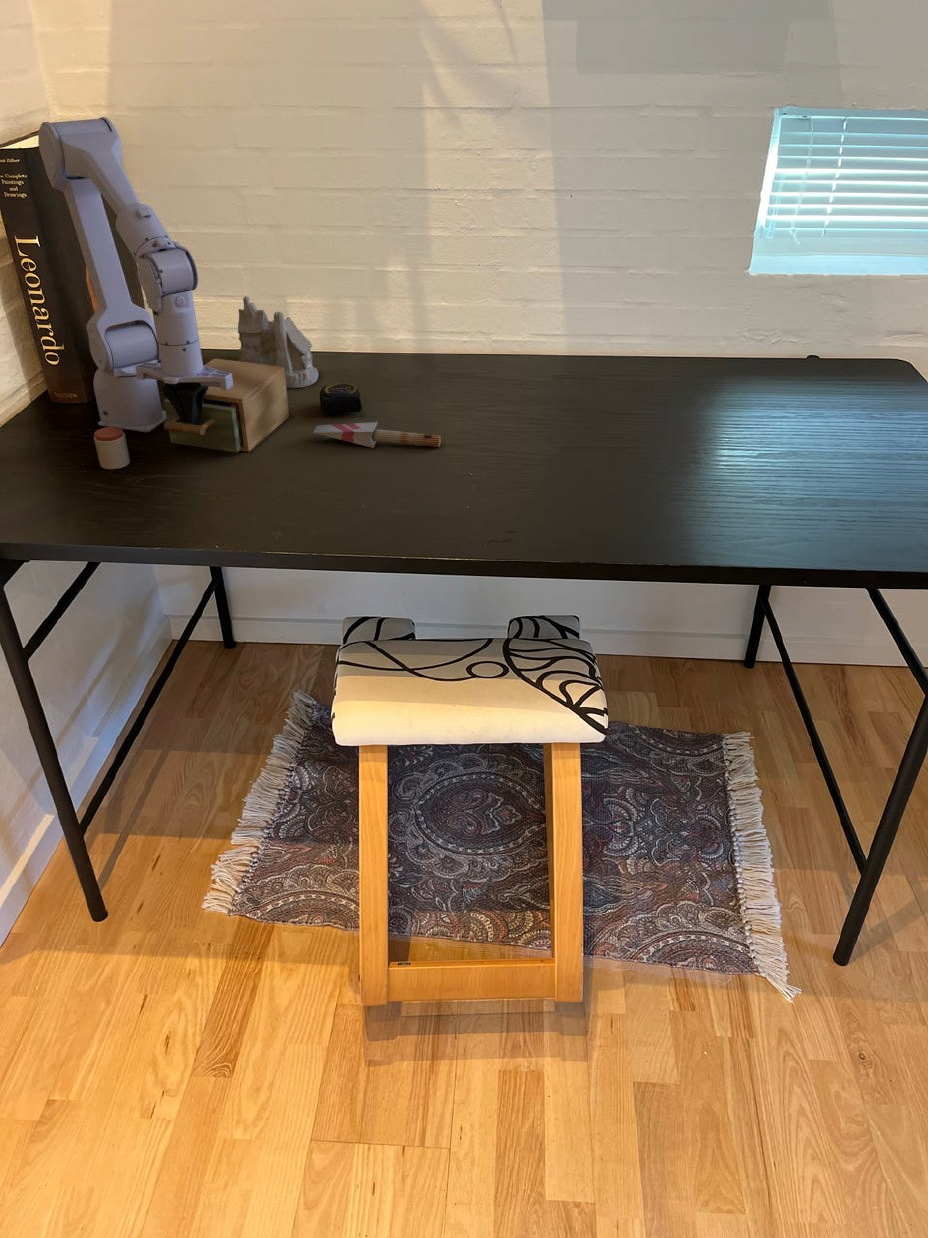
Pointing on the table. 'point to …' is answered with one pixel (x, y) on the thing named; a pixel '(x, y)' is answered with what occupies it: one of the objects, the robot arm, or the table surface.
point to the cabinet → (253, 397)
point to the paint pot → (111, 448)
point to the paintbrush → (374, 435)
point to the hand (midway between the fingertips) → (192, 429)
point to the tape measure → (340, 399)
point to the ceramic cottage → (275, 345)
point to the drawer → (207, 426)
